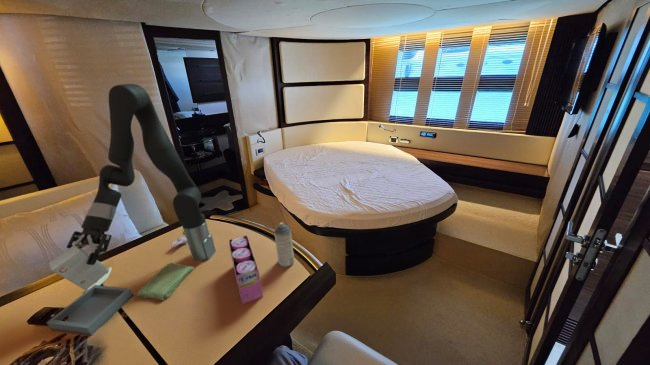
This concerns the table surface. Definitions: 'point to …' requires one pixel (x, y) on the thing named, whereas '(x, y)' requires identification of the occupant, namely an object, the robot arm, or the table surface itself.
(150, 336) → the table surface
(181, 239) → the pale purple eggplant
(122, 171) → the robot arm
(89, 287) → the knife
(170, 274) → the washcloth
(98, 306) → the bin
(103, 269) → the small box
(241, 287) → the gum box
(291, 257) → the aerosol can
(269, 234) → the table surface
